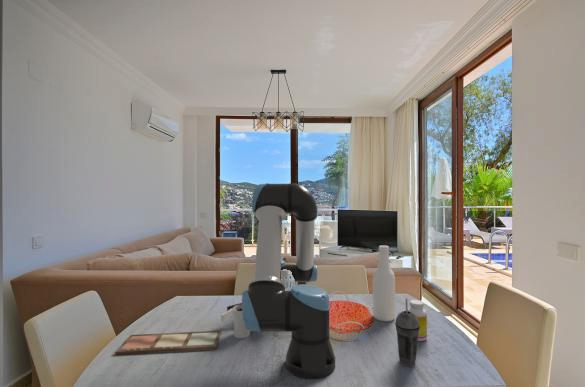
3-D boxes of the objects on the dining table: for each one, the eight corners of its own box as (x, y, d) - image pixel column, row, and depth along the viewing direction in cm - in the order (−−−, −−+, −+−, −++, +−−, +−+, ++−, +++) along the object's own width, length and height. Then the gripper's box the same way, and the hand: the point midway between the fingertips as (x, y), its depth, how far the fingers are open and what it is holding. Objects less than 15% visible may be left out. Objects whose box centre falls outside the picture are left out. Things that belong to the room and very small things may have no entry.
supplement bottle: (429, 337, 112) (429, 301, 112) (422, 343, 107) (422, 306, 107) (411, 331, 117) (411, 297, 116) (403, 337, 112) (404, 302, 112)
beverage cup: (422, 360, 97) (422, 296, 97) (417, 371, 91) (417, 303, 91) (398, 353, 101) (398, 292, 101) (392, 364, 95) (392, 298, 95)
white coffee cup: (231, 332, 116) (230, 306, 116) (248, 329, 119) (248, 303, 119) (235, 340, 110) (235, 312, 110) (253, 336, 113) (253, 309, 113)
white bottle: (399, 318, 128) (399, 246, 128) (385, 324, 123) (385, 248, 123) (382, 312, 135) (382, 243, 135) (368, 316, 130) (368, 245, 130)
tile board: (216, 349, 104) (216, 346, 104) (115, 355, 100) (115, 351, 100) (220, 333, 116) (220, 330, 116) (130, 337, 112) (130, 334, 112)
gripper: (293, 315, 126) (267, 338, 107) (241, 306, 136) (209, 325, 117) (293, 297, 126) (267, 316, 107) (241, 289, 136) (209, 306, 117)
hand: (237, 321), depth 112 cm, fingers open, 13 cm apart
